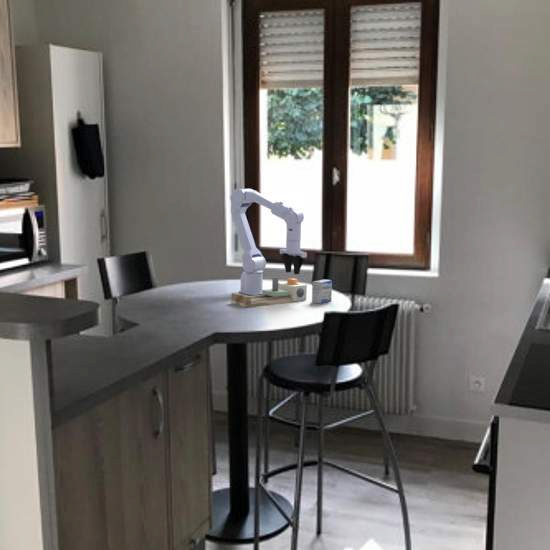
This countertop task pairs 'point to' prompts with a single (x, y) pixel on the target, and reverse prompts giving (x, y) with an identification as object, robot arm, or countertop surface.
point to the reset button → (292, 281)
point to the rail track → (258, 300)
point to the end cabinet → (294, 290)
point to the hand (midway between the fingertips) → (292, 273)
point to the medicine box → (321, 291)
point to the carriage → (275, 290)
